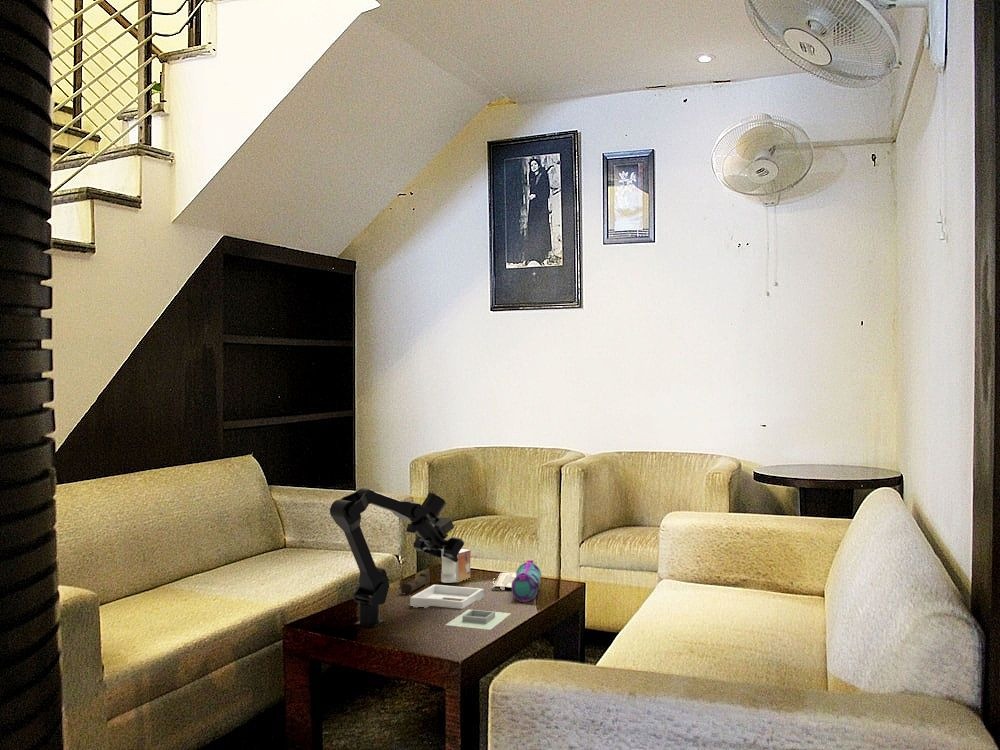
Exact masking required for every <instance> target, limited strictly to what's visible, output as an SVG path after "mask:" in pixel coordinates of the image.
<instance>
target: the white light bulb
mask: <svg viewBox="0 0 1000 750" xmlns="http://www.w3.org/2000/svg"><path fill="white" fill-rule="evenodd" d="M443 554H444V548H443V549H442V550H441V558H442V559H441V558H440V559H441V575H440V581H441V583H446V584H449V583H451V584H452V583H457V582H456V573H455V562H454V561H452V560H449V559H447V558H445V557H443Z"/></svg>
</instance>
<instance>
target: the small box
mask: <svg viewBox="0 0 1000 750" xmlns="http://www.w3.org/2000/svg"><path fill="white" fill-rule="evenodd" d="M457 557H458V561H457V562H455V573H456V582H455V583H460V582H463V580H464V581H466V579H467V580H469V579H468V578H470V579H471V549H464V548H461V550H460V552H459V553H458V555H457Z"/></svg>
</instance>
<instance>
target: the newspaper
mask: <svg viewBox="0 0 1000 750" xmlns="http://www.w3.org/2000/svg"><path fill="white" fill-rule="evenodd" d="M498 575H499V576H498V578H497V580H496V581H495V583H494V581H492V583H493V584H494V585H493V587H492V586H491V590H493V591H496V590H497V591H501V590H500V587H506V588H510V589H512V582H513V580H514V578H515V577H516V573H514V572H500V573H499V574H498ZM494 579H495V578H493V580H494ZM499 586H500V587H499Z"/></svg>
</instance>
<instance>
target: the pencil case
mask: <svg viewBox="0 0 1000 750" xmlns="http://www.w3.org/2000/svg"><path fill="white" fill-rule="evenodd" d="M541 580H542V572H541V570H540V567H539V566H538V565H536V564H535V563H534V560H531V559H528V560H527V561H526V562H525V563H522V564H521V565H519V567H518V568H517V570H516V577H515V578H514V580H513V582H512V588H511V593H512V595H513V597H514V598H515V599H516V600H517V601H518V602H521V603H527V602H530V601H531V600H533V599H534V598H536V596H537V595H538V591H539V589H540V588H539V587H540V585H541V584H540V583H541Z"/></svg>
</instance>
